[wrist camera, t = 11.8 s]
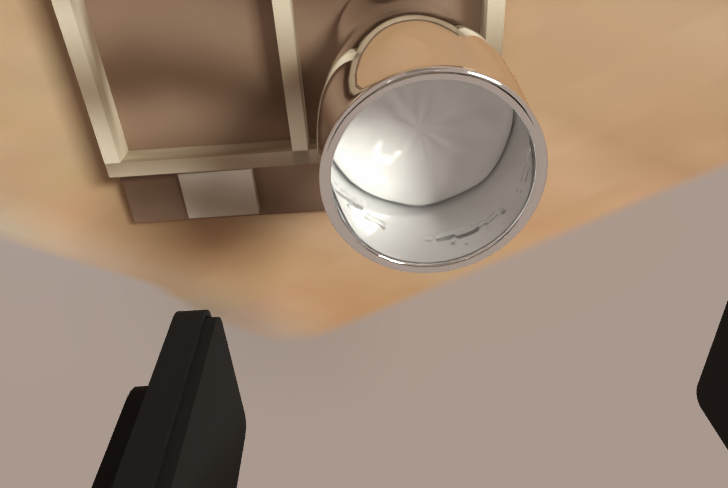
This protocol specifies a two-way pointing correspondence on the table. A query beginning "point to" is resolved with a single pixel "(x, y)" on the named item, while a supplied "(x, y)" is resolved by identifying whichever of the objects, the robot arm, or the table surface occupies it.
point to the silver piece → (424, 139)
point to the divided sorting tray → (214, 97)
